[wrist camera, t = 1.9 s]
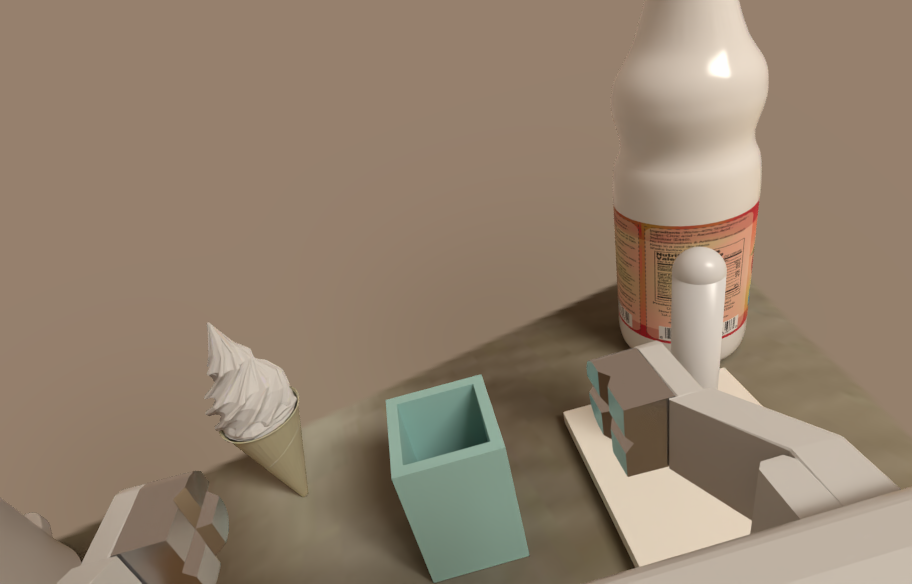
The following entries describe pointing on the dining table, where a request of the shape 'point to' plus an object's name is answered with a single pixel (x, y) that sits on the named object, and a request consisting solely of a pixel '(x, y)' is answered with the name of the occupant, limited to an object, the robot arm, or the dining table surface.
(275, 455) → the ice cream cone
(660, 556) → the post stand
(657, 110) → the fruit juice
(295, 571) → the dining table surface
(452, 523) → the sleeve
